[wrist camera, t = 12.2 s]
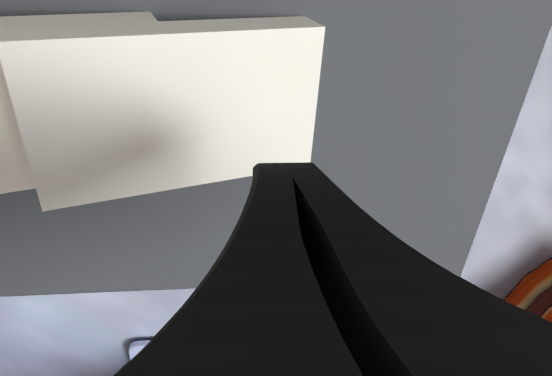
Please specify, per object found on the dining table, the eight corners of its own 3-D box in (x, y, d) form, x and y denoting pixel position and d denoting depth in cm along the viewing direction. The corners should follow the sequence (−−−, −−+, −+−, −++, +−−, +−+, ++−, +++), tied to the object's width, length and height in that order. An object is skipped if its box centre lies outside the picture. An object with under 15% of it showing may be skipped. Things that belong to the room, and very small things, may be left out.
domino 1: (159, 22, 13) (-242, 39, 10) (171, 167, 16) (-142, 216, 13) (150, 11, 15) (-213, 23, 11) (163, 148, 17) (-127, 189, 14)
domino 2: (325, 26, 14) (-5, 42, 11) (309, 165, 17) (42, 211, 13) (304, 16, 15) (-1, 26, 12) (293, 147, 18) (42, 186, 15)
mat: (454, 268, 23) (459, 276, 23) (-208, 295, 20) (-219, 306, 19) (640, -263, 13) (658, -269, 12) (-736, -403, 9) (-792, -420, 9)
